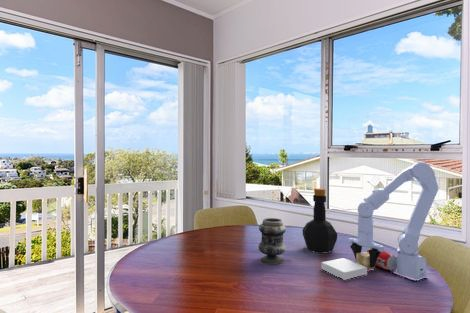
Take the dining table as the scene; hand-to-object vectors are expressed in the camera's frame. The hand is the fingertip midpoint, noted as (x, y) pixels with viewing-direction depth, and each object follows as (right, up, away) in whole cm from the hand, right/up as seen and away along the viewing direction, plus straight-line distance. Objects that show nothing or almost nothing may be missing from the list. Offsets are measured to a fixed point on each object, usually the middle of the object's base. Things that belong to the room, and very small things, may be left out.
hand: (365, 264), depth 123 cm
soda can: (+6, +2, +8) cm, 10 cm away
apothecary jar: (-37, -2, +9) cm, 38 cm away
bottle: (-12, -2, +25) cm, 28 cm away
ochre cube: (0, -2, 0) cm, 2 cm away
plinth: (-10, -2, -4) cm, 11 cm away
